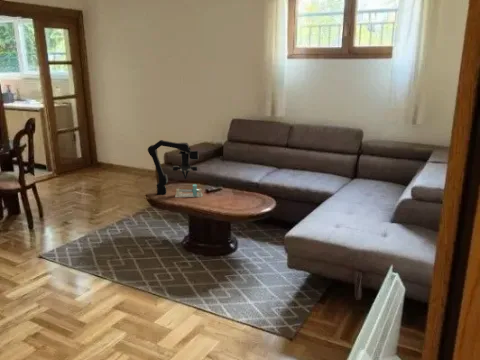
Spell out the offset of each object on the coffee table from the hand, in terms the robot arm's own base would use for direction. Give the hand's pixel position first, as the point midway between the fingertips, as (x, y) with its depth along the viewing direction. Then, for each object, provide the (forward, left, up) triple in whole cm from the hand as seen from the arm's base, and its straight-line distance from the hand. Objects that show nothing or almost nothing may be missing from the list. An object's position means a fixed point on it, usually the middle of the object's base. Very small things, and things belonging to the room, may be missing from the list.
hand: (185, 178), depth 324 cm
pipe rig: (+3, -5, -12) cm, 13 cm away
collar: (+7, -5, -11) cm, 14 cm away
